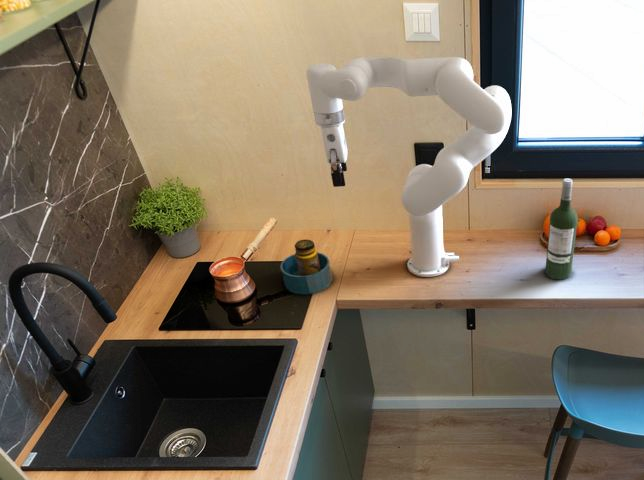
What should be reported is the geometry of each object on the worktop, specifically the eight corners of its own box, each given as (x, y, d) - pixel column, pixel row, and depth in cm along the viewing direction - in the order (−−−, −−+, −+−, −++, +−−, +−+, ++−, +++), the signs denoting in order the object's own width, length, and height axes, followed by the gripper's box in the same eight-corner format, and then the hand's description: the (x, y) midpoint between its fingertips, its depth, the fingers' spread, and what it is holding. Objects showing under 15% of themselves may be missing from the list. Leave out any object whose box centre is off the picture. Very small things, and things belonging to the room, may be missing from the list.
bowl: (334, 267, 180) (331, 250, 176) (330, 293, 170) (326, 275, 166) (288, 269, 179) (284, 252, 175) (281, 295, 168) (277, 277, 165)
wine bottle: (545, 279, 178) (553, 186, 159) (544, 265, 185) (552, 173, 166) (571, 280, 178) (583, 187, 159) (570, 266, 184) (581, 174, 166)
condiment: (327, 281, 173) (320, 245, 166) (298, 290, 169) (290, 254, 162) (317, 269, 178) (311, 234, 170) (289, 278, 174) (281, 242, 167)
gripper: (342, 127, 148) (353, 191, 159) (345, 104, 162) (355, 164, 172) (311, 129, 147) (324, 193, 158) (317, 105, 161) (328, 166, 171)
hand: (340, 178), depth 165 cm, fingers open, 9 cm apart
